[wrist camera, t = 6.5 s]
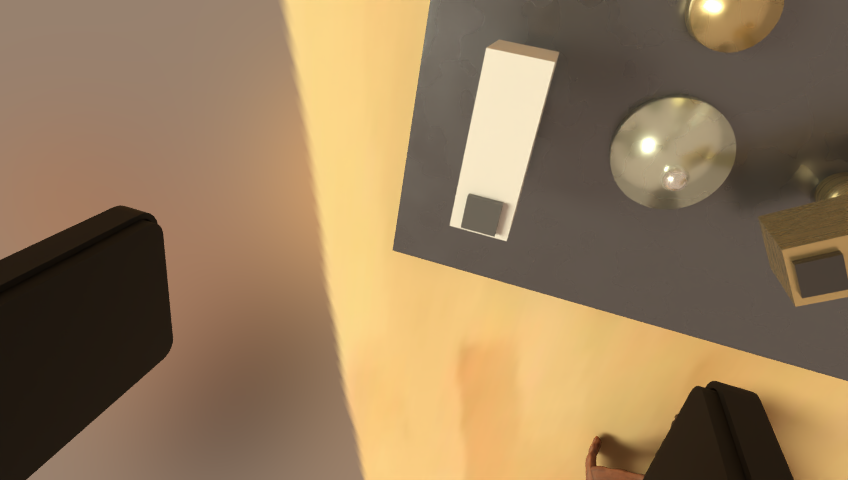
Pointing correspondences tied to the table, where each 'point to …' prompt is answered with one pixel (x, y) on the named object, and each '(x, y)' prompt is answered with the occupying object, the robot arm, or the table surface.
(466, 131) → the levelling plate
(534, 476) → the table surface
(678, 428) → the robot arm
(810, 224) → the wooden bar knob
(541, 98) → the white t-shaped handle
